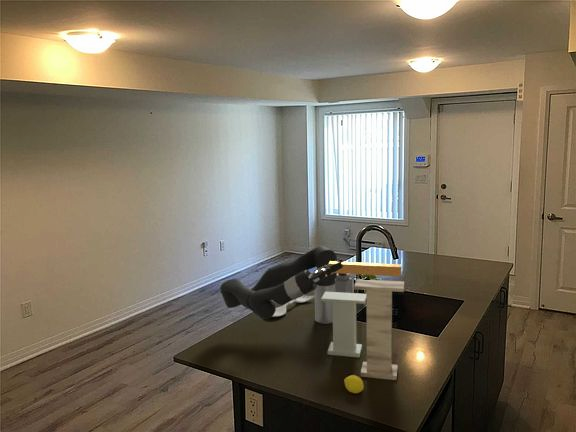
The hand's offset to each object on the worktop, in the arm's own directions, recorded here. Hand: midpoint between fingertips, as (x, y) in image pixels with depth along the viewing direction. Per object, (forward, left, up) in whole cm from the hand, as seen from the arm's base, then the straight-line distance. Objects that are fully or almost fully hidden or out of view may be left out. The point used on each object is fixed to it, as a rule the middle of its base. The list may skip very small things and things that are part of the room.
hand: (342, 263), depth 162 cm
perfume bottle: (-62, -9, -39) cm, 74 cm away
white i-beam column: (-14, -1, -39) cm, 41 cm away
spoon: (-54, -34, -39) cm, 75 cm away
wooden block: (0, +8, -3) cm, 8 cm away
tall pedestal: (0, +13, -39) cm, 41 cm away
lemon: (+14, +6, -39) cm, 42 cm away
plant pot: (-83, +1, -39) cm, 92 cm away
